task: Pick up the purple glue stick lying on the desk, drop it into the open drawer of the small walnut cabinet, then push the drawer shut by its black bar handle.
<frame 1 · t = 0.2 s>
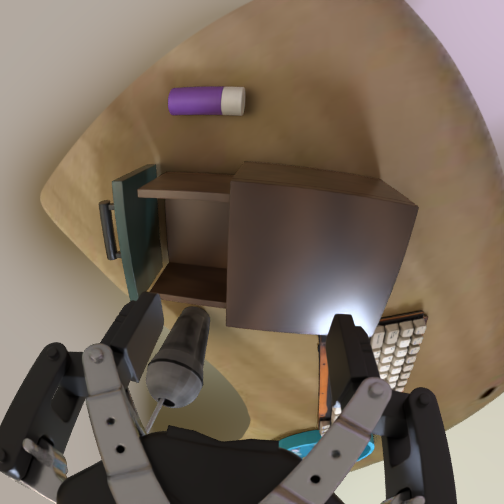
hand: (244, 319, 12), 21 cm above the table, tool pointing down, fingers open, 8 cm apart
glue stick: (210, 101, 26), on the table
cabinet: (307, 229, 32), on the table
drawer: (178, 235, 28), point 5 cm above the table, slide at 10.0 cm
beverage cup: (196, 317, 40), on the table
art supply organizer: (323, 446, 63), on the table
mechanical keyboard: (364, 384, 46), on the table
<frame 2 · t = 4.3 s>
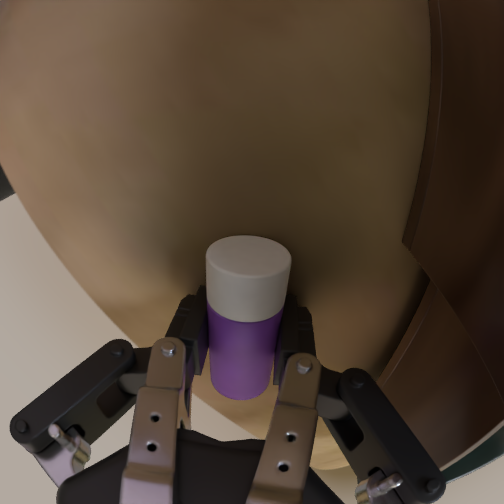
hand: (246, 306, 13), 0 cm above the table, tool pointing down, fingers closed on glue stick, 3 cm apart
glue stick: (262, 310, 13), on the table, tilted 29°, touching gripper
drawer: (485, 393, 9), point 5 cm above the table, slide at 10.0 cm
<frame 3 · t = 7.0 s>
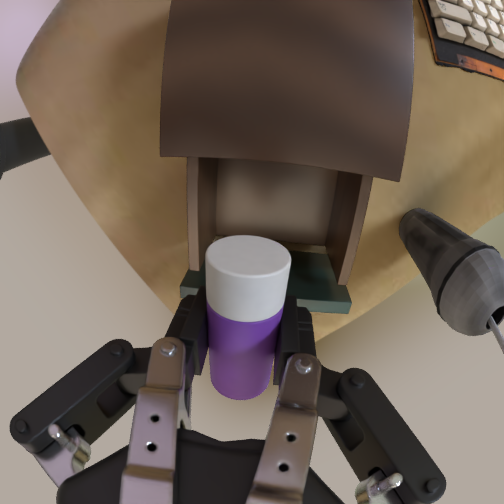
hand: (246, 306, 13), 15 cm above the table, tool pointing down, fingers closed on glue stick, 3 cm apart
glue stick: (262, 310, 13), point 15 cm above the table, tilted 29°, touching gripper
cabinet: (286, 65, 20), on the table
drawer: (273, 227, 22), point 5 cm above the table, slide at 10.0 cm
beverage cup: (415, 226, 26), on the table
when the fingers open (6 cm above the table, at t = 10.4 s): glue stick stays where it is, resting on drawer.
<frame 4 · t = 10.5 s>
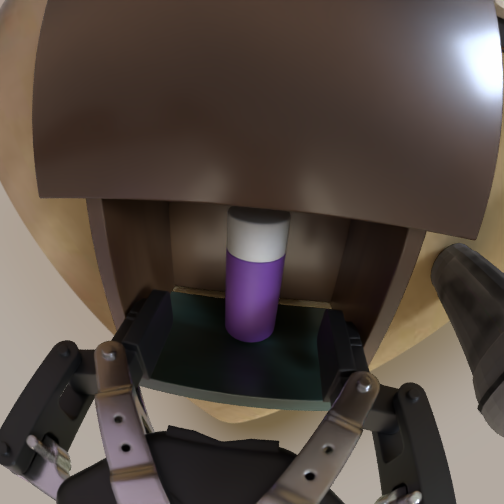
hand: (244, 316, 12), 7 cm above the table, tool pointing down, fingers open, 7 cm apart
glue stick: (266, 264, 16), point 2 cm above the table, tilted 25°, touching drawer
cabinet: (274, 31, 12), on the table
drawer: (250, 289, 14), point 5 cm above the table, slide at 10.0 cm, touching glue stick, gripper
beverage cup: (451, 266, 18), on the table
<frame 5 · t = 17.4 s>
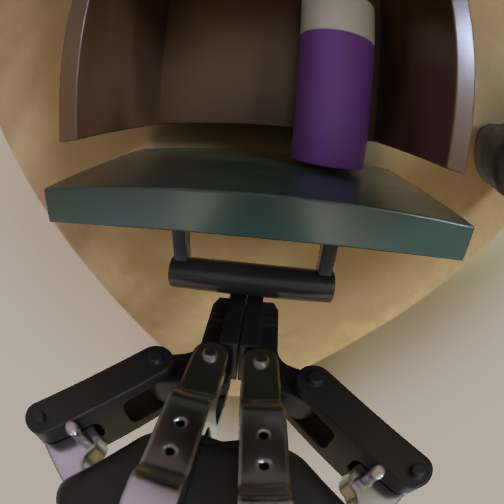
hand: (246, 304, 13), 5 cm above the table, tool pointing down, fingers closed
glue stick: (298, 73, 9), point 3 cm above the table, tilted 72°, touching drawer
drawer: (267, 62, 8), point 5 cm above the table, slide at 9.2 cm, touching glue stick, gripper
beverage cup: (493, 154, 12), on the table
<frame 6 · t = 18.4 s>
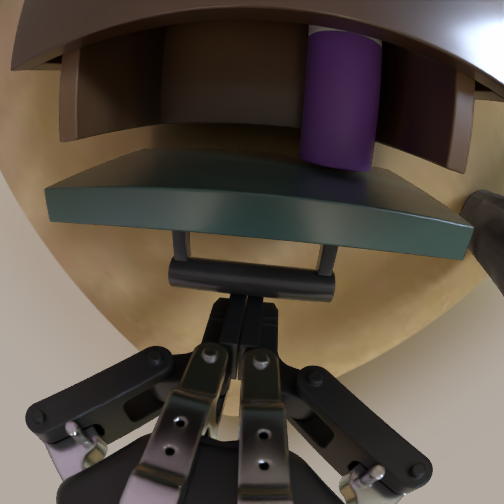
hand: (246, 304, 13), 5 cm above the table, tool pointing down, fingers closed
glue stick: (306, 73, 9), point 4 cm above the table, tilted 85°, touching drawer
drawer: (267, 62, 8), point 5 cm above the table, slide at 4.2 cm, touching glue stick, gripper
beverage cup: (478, 218, 14), on the table
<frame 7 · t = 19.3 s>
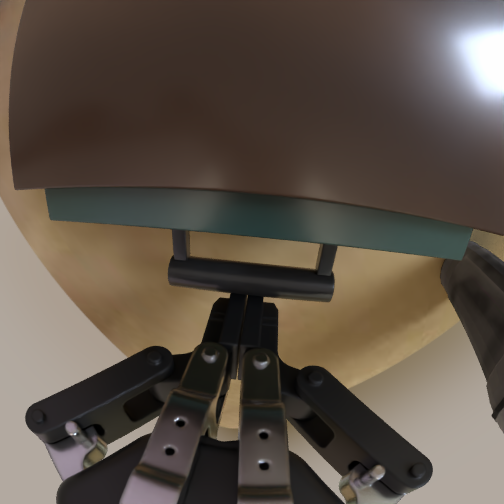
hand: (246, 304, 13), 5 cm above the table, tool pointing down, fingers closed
cabinet: (275, 15, 10), on the table
drawer: (267, 63, 8), point 5 cm above the table, slide at 0.2 cm, touching glue stick, gripper
beverage cup: (461, 266, 16), on the table
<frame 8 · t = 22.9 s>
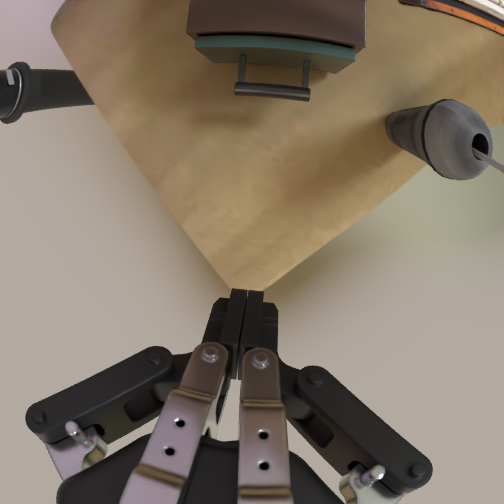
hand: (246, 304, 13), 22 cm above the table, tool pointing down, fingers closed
cabinet: (280, 2, 21), on the table
drawer: (278, 15, 19), point 5 cm above the table, slide at 0.1 cm, touching glue stick
beverage cup: (401, 128, 27), on the table
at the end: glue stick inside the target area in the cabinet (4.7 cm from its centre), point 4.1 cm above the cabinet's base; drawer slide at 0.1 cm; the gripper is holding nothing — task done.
